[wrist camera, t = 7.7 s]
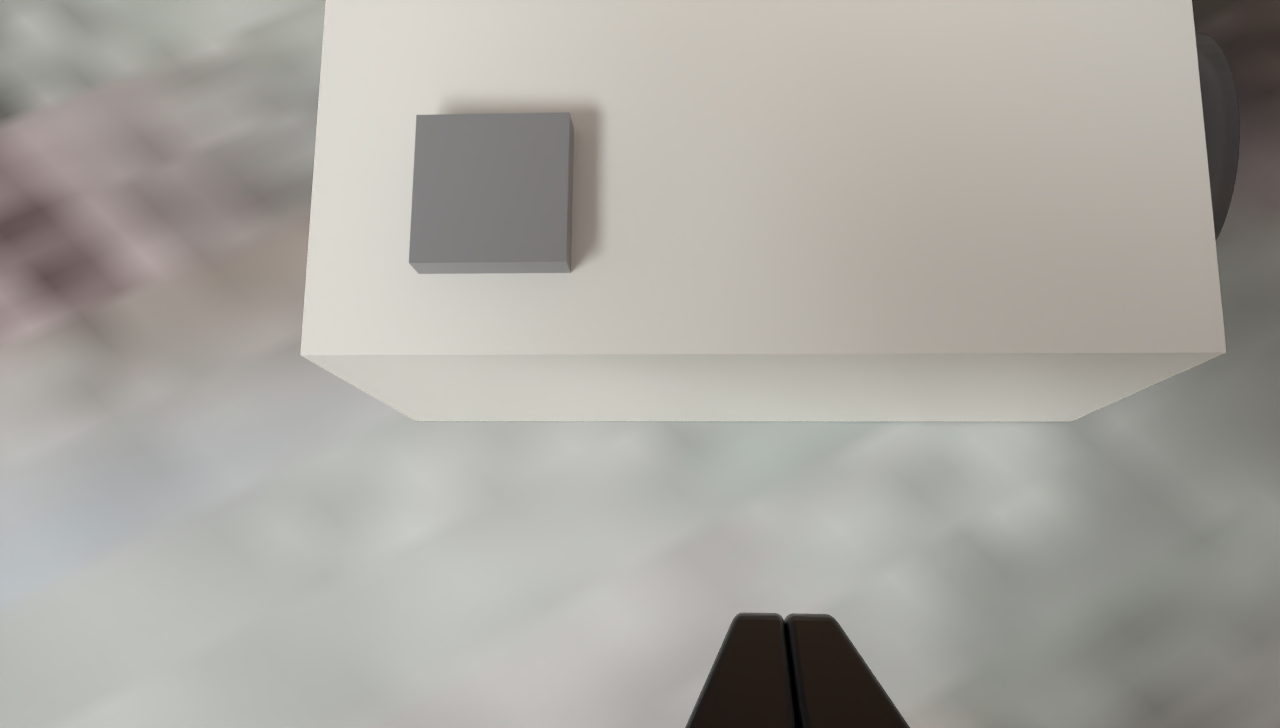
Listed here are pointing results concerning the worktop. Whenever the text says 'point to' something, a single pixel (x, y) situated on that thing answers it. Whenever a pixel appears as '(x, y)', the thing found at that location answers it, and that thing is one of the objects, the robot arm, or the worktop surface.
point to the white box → (766, 207)
